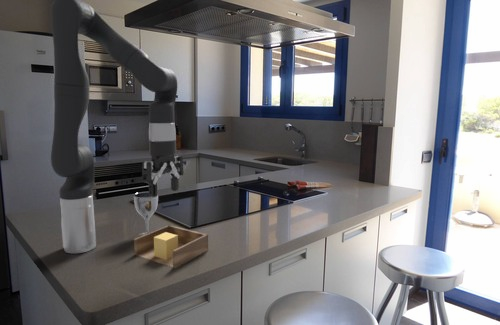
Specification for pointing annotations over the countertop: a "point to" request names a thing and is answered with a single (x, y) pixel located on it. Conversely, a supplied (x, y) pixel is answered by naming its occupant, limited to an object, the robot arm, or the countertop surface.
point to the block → (165, 245)
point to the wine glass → (145, 206)
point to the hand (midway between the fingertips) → (164, 193)
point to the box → (187, 249)
